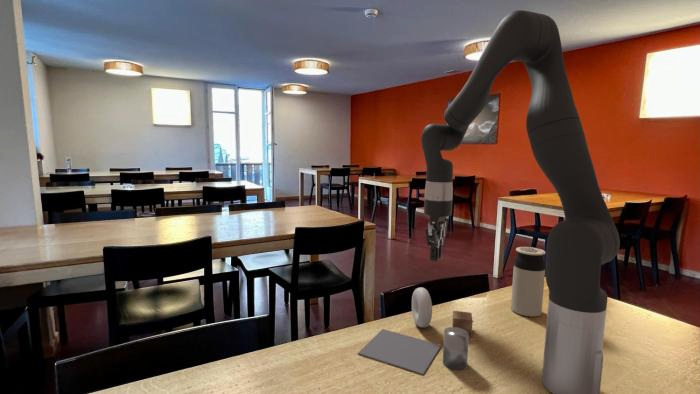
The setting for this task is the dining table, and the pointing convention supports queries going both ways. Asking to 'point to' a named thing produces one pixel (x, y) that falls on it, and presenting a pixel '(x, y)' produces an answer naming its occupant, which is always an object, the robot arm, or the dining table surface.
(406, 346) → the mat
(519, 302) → the travel mug
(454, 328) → the grey cylinder
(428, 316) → the donut
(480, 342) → the dining table surface
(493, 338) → the dining table surface
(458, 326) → the walnut block
